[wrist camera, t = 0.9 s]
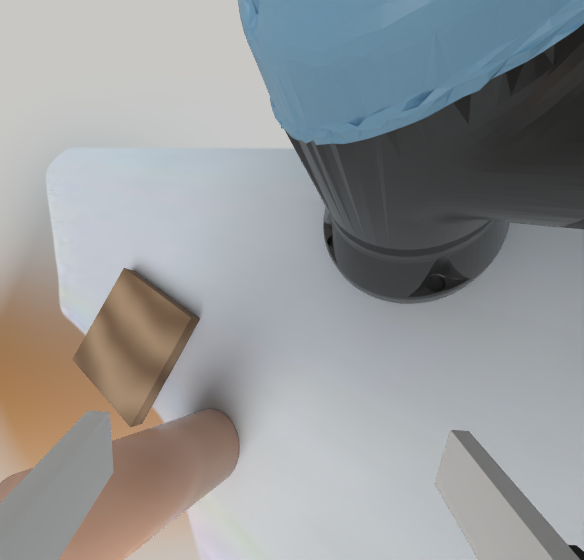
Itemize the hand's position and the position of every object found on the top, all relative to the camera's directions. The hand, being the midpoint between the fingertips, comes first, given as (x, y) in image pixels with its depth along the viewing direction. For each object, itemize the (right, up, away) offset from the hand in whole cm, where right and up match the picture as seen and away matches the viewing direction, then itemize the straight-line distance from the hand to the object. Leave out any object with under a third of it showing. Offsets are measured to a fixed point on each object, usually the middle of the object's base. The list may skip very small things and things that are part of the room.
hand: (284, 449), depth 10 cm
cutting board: (-20, -1, +24) cm, 31 cm away
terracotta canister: (-8, -11, +18) cm, 22 cm away
